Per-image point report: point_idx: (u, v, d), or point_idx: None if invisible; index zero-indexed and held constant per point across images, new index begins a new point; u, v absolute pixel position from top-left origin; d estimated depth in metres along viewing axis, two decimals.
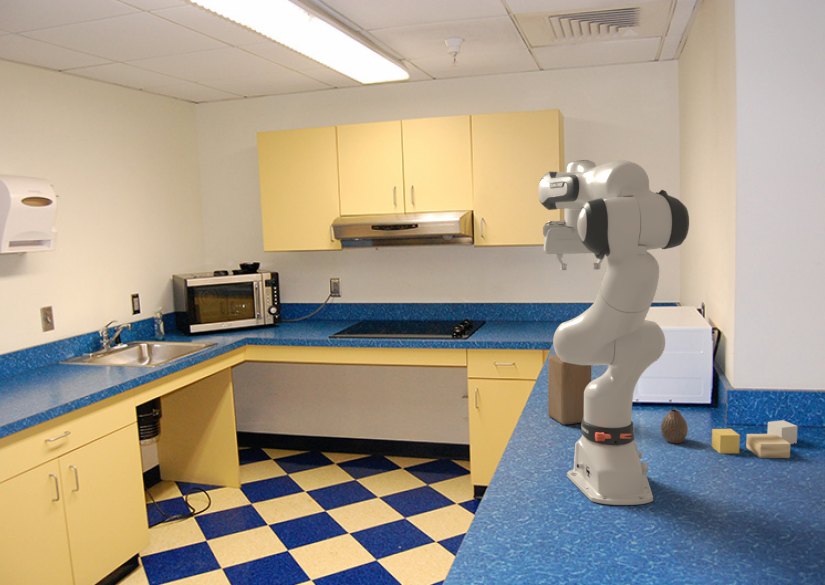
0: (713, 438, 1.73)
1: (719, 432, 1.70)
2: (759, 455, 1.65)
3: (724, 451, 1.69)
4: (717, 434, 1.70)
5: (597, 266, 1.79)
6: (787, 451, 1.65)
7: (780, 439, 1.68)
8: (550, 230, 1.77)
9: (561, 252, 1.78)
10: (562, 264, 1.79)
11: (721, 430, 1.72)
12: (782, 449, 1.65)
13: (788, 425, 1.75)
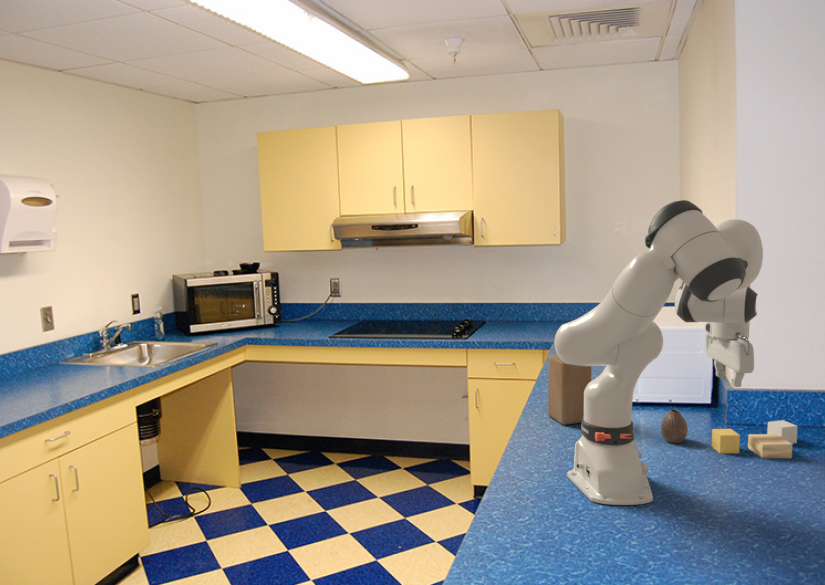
0: (713, 438, 1.73)
1: (719, 432, 1.70)
2: (761, 455, 1.65)
3: (724, 451, 1.69)
4: (717, 434, 1.70)
5: None
6: (789, 451, 1.64)
7: (781, 439, 1.67)
8: (752, 346, 1.59)
9: None
10: None
11: (721, 430, 1.72)
12: (784, 449, 1.64)
13: (788, 425, 1.75)
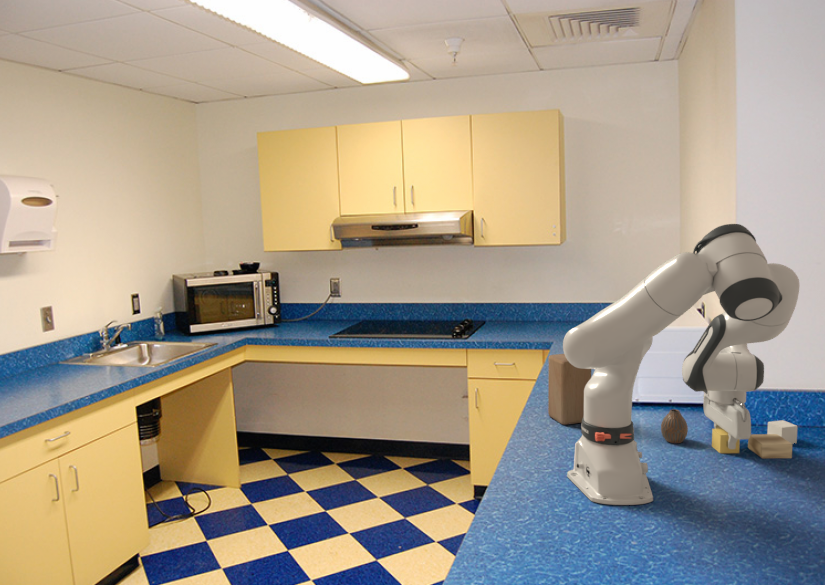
0: (713, 438, 1.73)
1: (719, 432, 1.70)
2: (761, 455, 1.65)
3: (724, 451, 1.69)
4: (717, 434, 1.70)
5: None
6: (789, 451, 1.64)
7: (781, 439, 1.67)
8: (749, 413, 1.61)
9: None
10: None
11: (721, 430, 1.72)
12: (784, 449, 1.64)
13: (788, 425, 1.75)
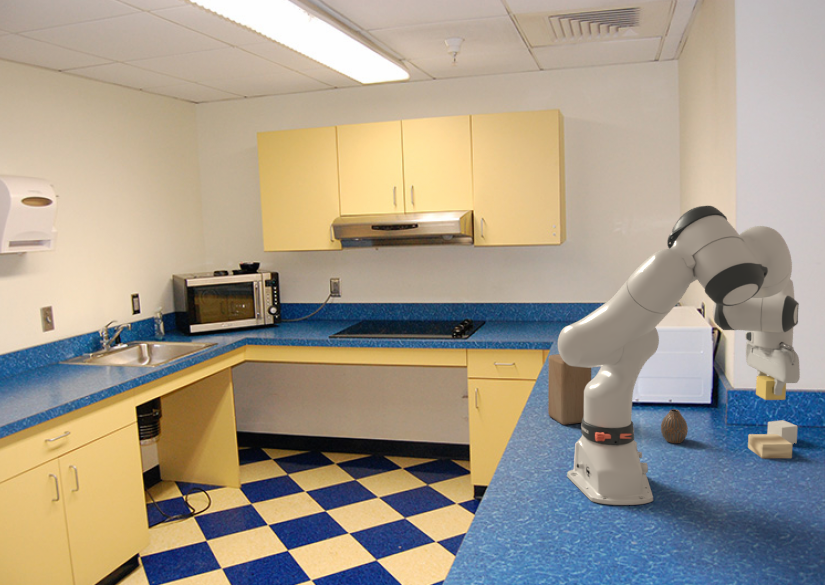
0: (757, 385, 1.68)
1: (764, 378, 1.66)
2: (761, 455, 1.65)
3: (770, 397, 1.64)
4: (762, 380, 1.66)
5: None
6: (789, 451, 1.64)
7: (782, 439, 1.67)
8: (797, 356, 1.56)
9: None
10: None
11: (766, 377, 1.67)
12: (784, 449, 1.64)
13: (788, 425, 1.75)
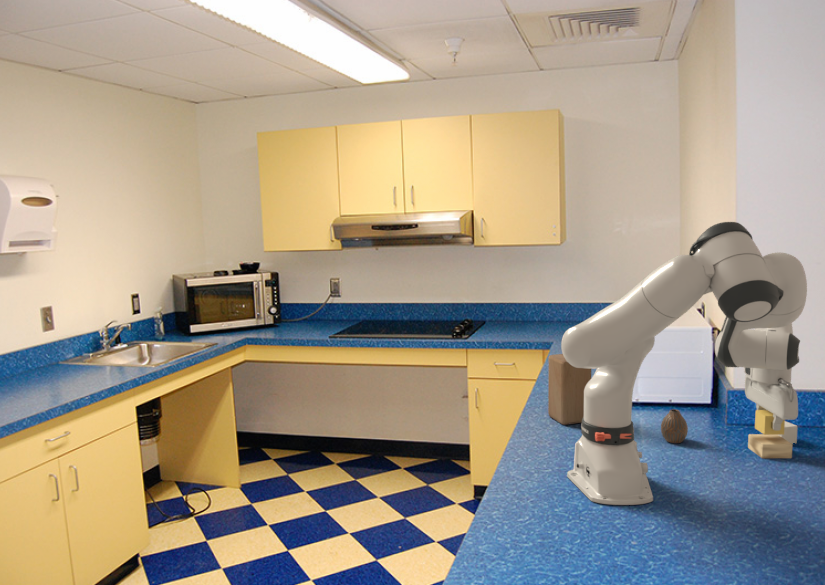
0: (756, 419, 1.69)
1: (763, 413, 1.67)
2: (761, 455, 1.65)
3: (769, 432, 1.65)
4: (761, 415, 1.67)
5: None
6: (789, 451, 1.64)
7: (782, 439, 1.67)
8: None
9: None
10: None
11: (765, 411, 1.68)
12: (784, 449, 1.64)
13: (788, 425, 1.75)
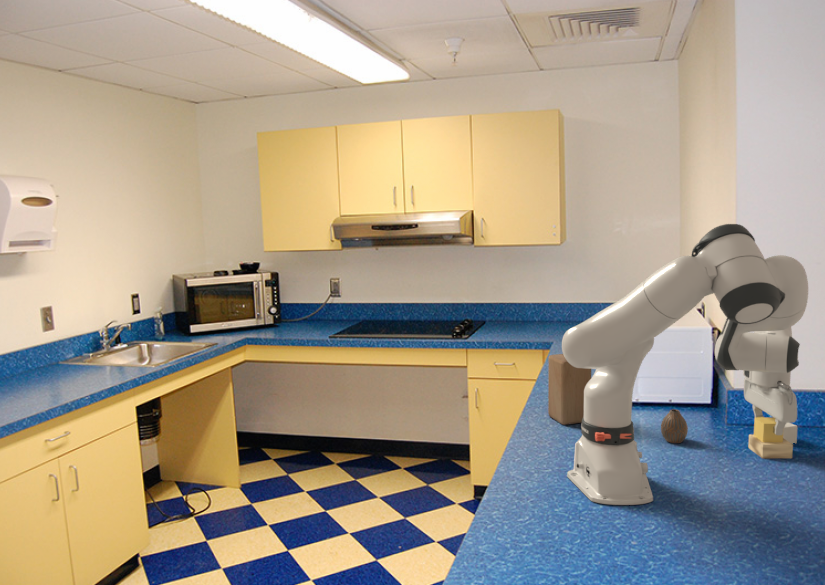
0: (755, 427, 1.70)
1: (762, 421, 1.67)
2: (761, 455, 1.65)
3: (767, 440, 1.66)
4: (760, 422, 1.67)
5: None
6: (789, 451, 1.64)
7: None
8: None
9: None
10: None
11: (764, 418, 1.69)
12: (785, 449, 1.64)
13: (788, 425, 1.75)
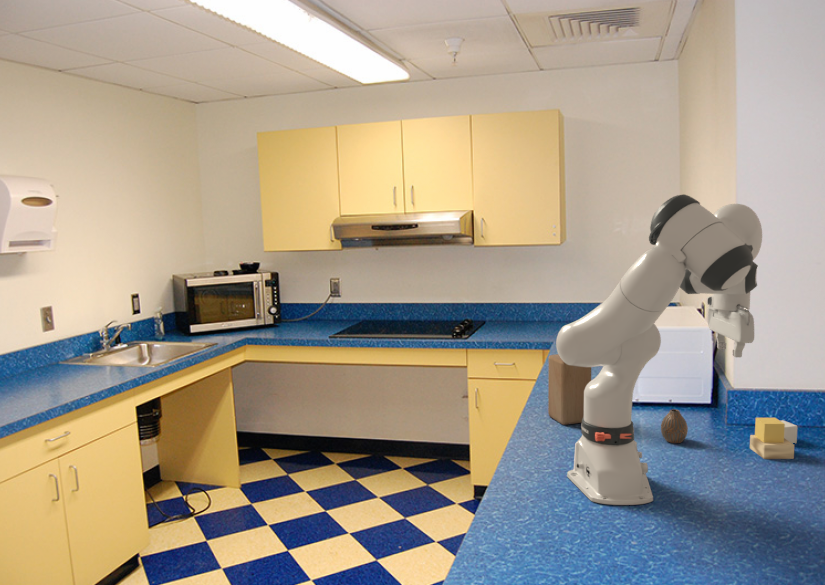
0: (756, 427, 1.70)
1: (763, 421, 1.67)
2: (763, 456, 1.65)
3: (768, 440, 1.66)
4: (761, 423, 1.67)
5: None
6: (791, 452, 1.64)
7: None
8: (752, 317, 1.63)
9: None
10: None
11: (765, 419, 1.69)
12: (786, 450, 1.64)
13: (788, 425, 1.75)
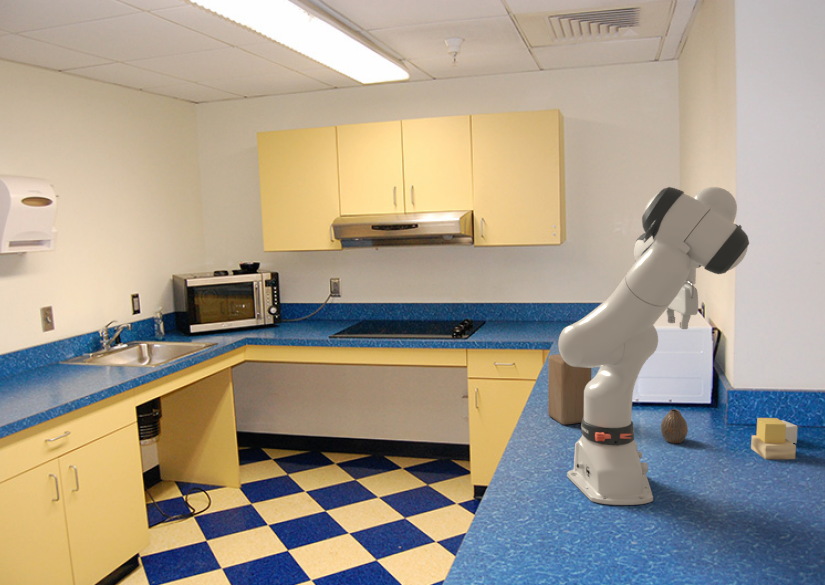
0: (758, 427, 1.69)
1: (764, 421, 1.67)
2: (764, 457, 1.64)
3: (769, 440, 1.65)
4: (762, 423, 1.67)
5: None
6: (792, 452, 1.64)
7: (785, 440, 1.67)
8: (696, 290, 1.72)
9: None
10: None
11: (766, 419, 1.68)
12: (788, 450, 1.64)
13: (788, 425, 1.75)
